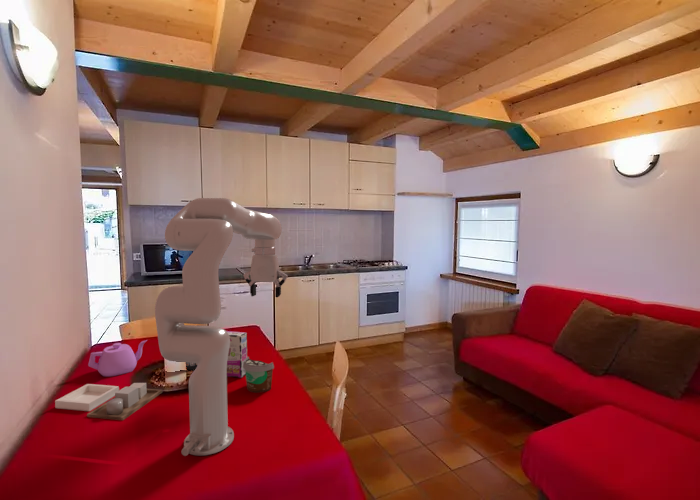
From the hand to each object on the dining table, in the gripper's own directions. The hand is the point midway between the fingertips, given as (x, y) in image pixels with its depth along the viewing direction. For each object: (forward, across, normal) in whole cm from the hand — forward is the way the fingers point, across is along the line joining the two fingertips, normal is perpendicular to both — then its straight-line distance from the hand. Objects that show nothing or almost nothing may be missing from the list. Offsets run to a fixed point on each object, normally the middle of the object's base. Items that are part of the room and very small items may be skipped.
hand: (265, 296), depth 140 cm
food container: (+31, +1, -13) cm, 34 cm away
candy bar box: (+31, -13, -2) cm, 34 cm away
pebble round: (+30, -34, -36) cm, 58 cm away
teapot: (+31, -58, -7) cm, 66 cm away
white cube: (+30, -36, -25) cm, 53 cm away
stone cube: (+30, -35, -31) cm, 55 cm away
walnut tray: (+31, -35, -31) cm, 56 cm away
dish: (+31, -49, -31) cm, 65 cm away
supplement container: (+31, -33, +1) cm, 45 cm away
